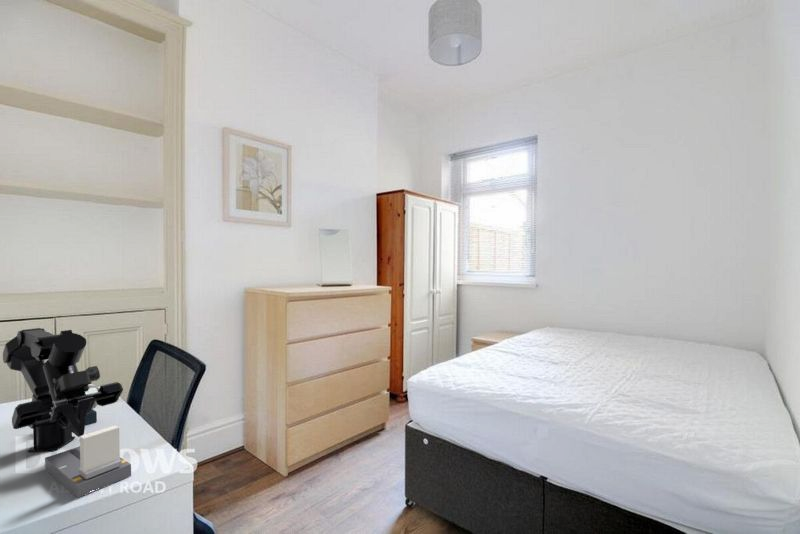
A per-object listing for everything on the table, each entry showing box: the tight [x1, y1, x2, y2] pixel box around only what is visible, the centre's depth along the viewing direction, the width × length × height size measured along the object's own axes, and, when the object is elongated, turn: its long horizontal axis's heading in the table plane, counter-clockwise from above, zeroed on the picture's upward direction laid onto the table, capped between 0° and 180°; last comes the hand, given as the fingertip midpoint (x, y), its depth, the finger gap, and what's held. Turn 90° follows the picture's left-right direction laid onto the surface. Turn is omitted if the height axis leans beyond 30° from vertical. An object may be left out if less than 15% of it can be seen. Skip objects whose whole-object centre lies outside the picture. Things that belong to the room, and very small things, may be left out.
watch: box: [85, 383, 100, 427], centre depth 107 cm, size 6×8×11 cm
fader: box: [79, 425, 122, 479], centre depth 77 cm, size 4×6×8 cm, turn 147°
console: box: [44, 445, 132, 499], centre depth 81 cm, size 20×9×3 cm, turn 57°
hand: (81, 435), depth 83 cm, fingers closed
